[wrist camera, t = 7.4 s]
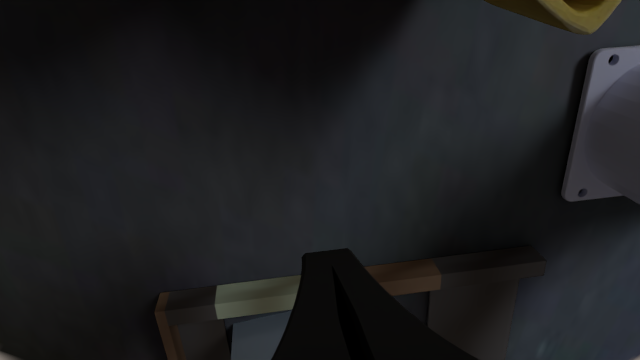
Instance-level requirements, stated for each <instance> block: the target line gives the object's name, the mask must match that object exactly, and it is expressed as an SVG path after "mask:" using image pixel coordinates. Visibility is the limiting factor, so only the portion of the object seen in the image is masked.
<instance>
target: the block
mask: <svg viewBox="0 0 640 360" xmlns="http://www.w3.org/2000/svg"><path fill="white" fill-rule="evenodd" d="M291 312H292V310H291V311H287V312H283V313H278V314H274V315H270V316H265V317H261V318H257V319H252V320H248V321H244V322H239V323H235V324H233V335H232V350H231V360H271V359H272V357H273V355H274V353H275V351H276V349H277V347H278V344H279V342H280V340H281V338H282V335H283V333H284V331H285V328H286V326H287V323H288V320H289V317H290V314H291Z"/></svg>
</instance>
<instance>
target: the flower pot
mask: <svg viewBox="0 0 640 360" xmlns="http://www.w3.org/2000/svg"><path fill="white" fill-rule="evenodd" d="M484 1H486V2H488V3H490V4H492V5H495V6H498V7H500V8H503V9H506V10H509V11H512V12H514V13H517V14H520V15H523V16H526V17H528V18H531V19H534V20H537V21H540V22H543V23H545V24H548V25H551V26H554V27H557V28H560V29H564V30H567V31H570V32H573V33H576V34H583V35H584V34H591V33H593V32H595V31H596V30H597V29H598V28H599V27H600V26H601V25H602V24H603V23H604V22H605V20H606V19H607V18H608V17H609V16H610V15H611V13H612V12H613V11H614V9H615V8H616V7H617V5H618V4H619V3H620V2H621V1H622V0H484Z"/></svg>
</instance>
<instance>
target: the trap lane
mask: <svg viewBox="0 0 640 360" xmlns="http://www.w3.org/2000/svg"><path fill="white" fill-rule="evenodd" d="M546 262H547V261H546V260H545V259H544V258H543V257H542V256H541V255H540V254H539V253H538V252H537V251H536V250H535V249H534V248H533V247H532V246H524V247H516V248H508V249H500V250H492V251H485V252H477V253H469V254H461V255H453V256H445V257H437V258H430V259H422V260H414V261H406V262H398V263H390V264H383V265H375V266H367V267H364V268H365V269H366V270H367V271H368V272H369V273H370V274H371V275H372V277H373V278H374V279H375V280H376V281H377V282H378V283H379V284H380V285H381V286H382V287H383V288H384V289H385V290H386V291H387V292H388V293H389V294H390V295H391V296H395V295H402V294H410V293H417V292H425V291H429V299H428V314H427V327H429V328H430V329H431V330H433V331H434V332H436V333H437V334H438V335H440V336H441V337H443V338H444V339H446V340H447V341H449V342H451V343H452V344H454V345H455V346H457V347H459V348H460V349H462V350H464V351H465V352H467V353H468V354H470V355H472V356H474V357H475V358H477V359H479V360H505V357H506V351H507V345H508V340H509V334H510V329H511V323H512V318H513V312H514V307H515V301H516V295H517V290H518V284H519V279H521V278H529V277H536V276H543V275H544V271H545V267H546ZM300 278H301V275H296V276H288V277H281V278H273V279H265V280H257V281H249V282H241V283H234V284H226V285H218V286H210V287H202V288H194V289H187V290H179V291H171V292H163V293H160V295H159V298H158V302H157V305H156V308H155V312H154V313H155V317H156V320H157V324H158V327H159V331H160V334H161V338H162V341H163V345H164V348H165V352H166V355H167V359H168V360H231V353H230V348H229V343H228V338H227V333H226V328H225V323H224V318H232V317H239V316H247V315H254V314H262V313H269V312H276V311H284V310H291V309H293V306H294V303H295V299H296V295H297V291H298V287H299V283H300Z"/></svg>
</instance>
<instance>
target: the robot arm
mask: <svg viewBox="0 0 640 360" xmlns="http://www.w3.org/2000/svg"><path fill="white" fill-rule="evenodd" d="M612 55H613V59H612V61H611V62H610V63H609V62H608V60H609V58H610V57H611V56H612ZM581 189H582V191H581V192H580V193H579V191H580V190H581ZM561 196H562V197H563V198H564V199H565V200H567V201H569V202H573V201H582V200H590V199H599V198H607V197H615V196H626V197H627V198H629V199H631V200H633V201H634V202H636V203H638V204H639V205H640V45H639V46H627V47H615V48H603V49H598V50H596V51H595V52H593V53H592V55H591V56H590V58H589V62H588V66H587V71H586V76H585V81H584V85H583V90H582V95H581V100H580V105H579V109H578V114H577V119H576V124H575V129H574V133H573V138H572V143H571V148H570V152H569V157H568V162H567V167H566V172H565V176H564V181H563V186H562V191H561ZM271 360H479V359H477V358H475V357H474V356H472V355H470V354H468V353H467V352H465V351H464V350H462V349H460V348H459V347H457V346H455V345H454V344H452V343H451V342H449V341H447V340H446V339H444V338H443V337H441V336H440V335H438V334H437V333H436V332H434V331H433V330H431V329H430V328H429V327H427V326H426V325H425V324H423V323H422V322H421V321H420V320H418V319H417V318H416V317H415V316H414V315H412V314H411V313H410V312H409V311H408V310H406V309H405V308H404V307H403V306H402V305H401V304H400V303H399V302H397V301H396V300H395V299H394V298H393V297H392V296H391V295H390V294H389V293H388V292H387V291H386V290H385V289H384V288H383V287H382V286H381V285H380V284H379V283H378V282H377V281H376V280H375V279H374V278H373V277H372V275H371V274H370V273H369V272H368V271H367V270H366V269H365V268H364V266H363V265H362V264H361V263H360V262H359V260H358V259H357V258H356V257H355V255H354V254H353V253H352V251H350V250H349V249H348V248H345V249H337V250H329V251H321V252H313V253H305V254H304V255H303V256H302V272H301V278H300V283H299V287H298V291H297V295H296V299H295V303H294V306H293V309H292V312H291V314H290V317H289V320H288V323H287V326H286V328H285V331H284V333H283V335H282V338H281V340H280V342H279V344H278V347H277V349H276V351H275V353H274V355H273V357H272V359H271Z"/></svg>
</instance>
